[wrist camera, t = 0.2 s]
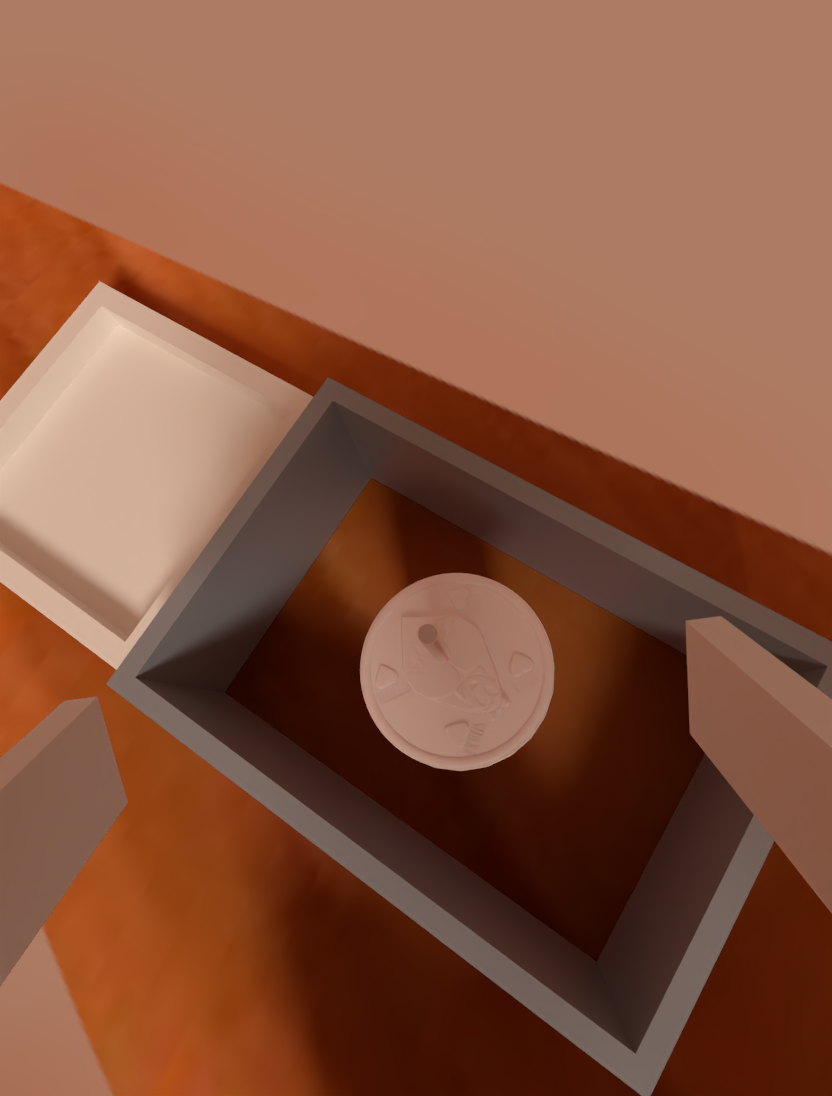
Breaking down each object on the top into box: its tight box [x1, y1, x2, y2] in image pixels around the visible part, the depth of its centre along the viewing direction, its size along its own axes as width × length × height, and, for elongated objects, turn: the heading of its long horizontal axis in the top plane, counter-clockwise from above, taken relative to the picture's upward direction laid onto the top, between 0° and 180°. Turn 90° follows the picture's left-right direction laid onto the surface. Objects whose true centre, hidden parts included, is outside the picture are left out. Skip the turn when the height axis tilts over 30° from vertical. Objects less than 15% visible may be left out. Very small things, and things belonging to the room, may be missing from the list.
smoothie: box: [360, 573, 555, 771], centre depth 23 cm, size 6×6×14 cm
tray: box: [0, 281, 313, 670], centre depth 34 cm, size 16×16×3 cm
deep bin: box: [107, 377, 832, 1096], centre depth 26 cm, size 22×15×8 cm
